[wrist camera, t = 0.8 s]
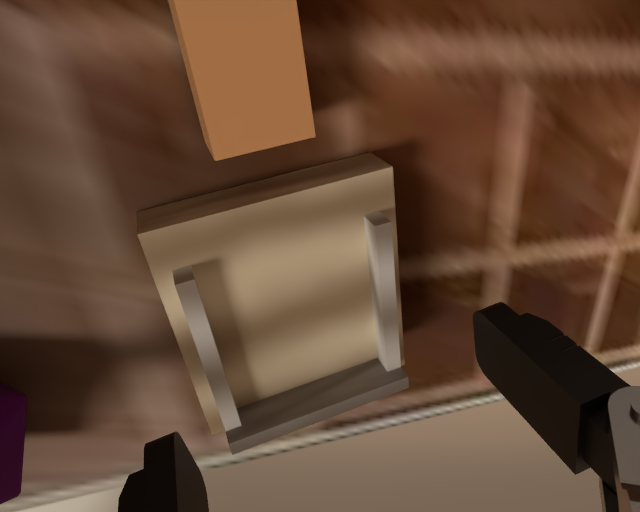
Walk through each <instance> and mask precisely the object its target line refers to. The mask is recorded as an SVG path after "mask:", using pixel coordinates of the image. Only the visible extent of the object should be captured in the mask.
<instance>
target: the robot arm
mask: <svg viewBox="0 0 640 512" xmlns="http://www.w3.org/2000/svg"><path fill="white" fill-rule="evenodd" d="M473 327H474V339H475V352H476V358H477V361H478V364H479V366H480V368H481V370H482V371H483V373H484V374H485V376H486V377H487V378H488V379H489V380H490V382H491V383H492V384H493V385H494V386H495V387H496V388H497V389H498V390H499V391H500V392H501V394H502V395H503V396H504V397H505V398H506V399H507V400H508V401H509V402H510V403H511V405H512V406H513V407H514V408H515V409H516V410H517V411H518V412H519V413H520V414H521V415H522V417H523V418H524V419H525V420H526V421H527V422H528V423H529V424H530V425H531V427H532V428H534V430H535V431H536V432H537V433H538V434H539V435H540V436H541V437H542V439H543V440H544V441H545V442H546V443H547V444H548V445H549V446H550V447H551V449H552V450H553V451H554V452H555V453H556V454H557V455H558V456H559V457H560V458H561V459H562V461H563V462H564V463H565V464H566V465H567V466H568V467H569V468H570V469H571V470H572V472H573V473H574V474H578V473H580V472H582V471H584V470H586V469H588V468H590V467H591V468H592V469H593V470H594V471H595V472H596V473H597V474H598V475H599V476H600V477H599V487H600V495H601V503H602V511H603V512H640V386H630V385H629V384H627V383H626V382H625V381H623V380H622V379H621V378H619V377H618V376H617V375H616V374H614V373H613V372H612V371H611V370H609V369H608V368H607V367H606V366H604V365H603V364H602V363H601V362H599V361H598V360H597V359H595V358H594V357H593V356H592V355H590V354H589V353H588V352H587V351H585V350H584V349H583V348H581V347H580V346H577V345H576V343H575V342H574V341H573V340H571V339H570V338H569V337H568V336H564V334H563V333H562V332H561V331H560V330H559V329H557V328H556V327H555V326H554V325H552V324H551V323H550V322H548V321H547V320H544V319H542V318H539V317H537V316H534V315H532V314H529V313H525V314H523V315H520V316H519V315H518V314H517V313H516V312H514V311H513V310H512V309H511V308H510V307H508V306H507V305H506V304H504V303H502V302H499V303H496V304H494V305H491V306H489V307H486V308H484V309H482V310H479V311H477V312H475V313H474V314H473ZM118 512H209V508H208V500H207V493H206V487H205V484H204V481H203V477H202V474H201V472H200V470H199V468H198V466H197V464H196V463H195V461H194V459H193V457H192V455H191V454H190V452H189V450H188V448H187V447H186V445H185V443H184V441H183V439H182V438H181V436H180V434H179V433H178V432H173V433H171V434H168V435H166V436H163V437H161V438H159V439H156V440H154V441H151V442H149V443H146V444H145V447H144V469H142V470H140V471H138V472H135V473H133V474H130V475H129V476H128V479H127V481H126V483H125V485H124V488H123V490H122V492H121V495H120V497H119V506H118Z"/></svg>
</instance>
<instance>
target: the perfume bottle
mask: <svg viewBox="0 0 640 512" xmlns="http://www.w3.org/2000/svg"><path fill="white" fill-rule="evenodd" d="M26 410H27V397H26V395H24V394H23V393H21V392H19V391H17V390H15V389H14V388H12V387H10V386H8V385H6V384H5V383H3V382H1V381H0V504H2V503H4V502H6V501H8V500H11V499H13V498H15V497H17V496H18V495H19V494H20V492H21V481H22V467H23V453H24V438H25V424H26Z"/></svg>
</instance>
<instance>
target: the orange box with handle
mask: <svg viewBox="0 0 640 512" xmlns="http://www.w3.org/2000/svg"><path fill="white" fill-rule="evenodd" d="M168 2H169V6H170V10H171V14H172V18H173V21H174V25H175V29H176V33H177V37H178V40H179V44H180V48H181V52H182V56H183V60H184V63H185V67H186V71H187V75H188V79H189V82H190V86H191V90H192V94H193V98H194V101H195V105H196V109H197V113H198V117H199V121H200V124H201V128H202V132H203V136H204V140H205V143H206V145H207V147H208V149H209V150H210V152H211V154H212V156H213V158H214V160H215V161H217V160H222V159H226V158H230V157H234V156H238V155H242V154H246V153H251V152H255V151H259V150H263V149H267V148H271V147H276V146H280V145H284V144H288V143H292V142H296V141H300V140H305V139H309V138H313V137H316V136H315V129H314V122H313V115H312V108H311V100H310V93H309V86H308V79H307V72H306V65H305V58H304V51H303V44H302V37H301V30H300V23H299V16H298V8H297V1H296V0H168Z"/></svg>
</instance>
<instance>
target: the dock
mask: <svg viewBox="0 0 640 512" xmlns="http://www.w3.org/2000/svg"><path fill="white" fill-rule="evenodd" d="M136 216H137V235H138V238H139V240H140V243H141V246H142V248H143V251H144V254H145V256H146V259H147V262H148V264H149V267H150V270H151V272H152V275H153V278H154V280H155V283H156V286H157V288H158V291H159V294H160V297H161V299H162V302H163V305H164V307H165V310H166V313H167V315H168V318H169V321H170V323H171V326H172V329H173V331H174V334H175V337H176V339H177V342H178V345H179V347H180V350H181V353H182V355H183V358H184V361H185V363H186V366H187V369H188V372H189V374H190V377H191V380H192V382H193V385H194V388H195V390H196V393H197V396H198V398H199V401H200V404H201V406H202V409H203V412H204V414H205V417H206V420H207V422H208V425H209V428H210V430H211V433H212V435H214V434H217V433H219V432H222V431H226V435H227V439H228V443H229V446H230V449H231V452H232V455H233V454H236V453H238V452H241V451H244V450H246V449H249V448H251V447H254V446H257V445H259V444H262V443H265V442H267V441H270V440H272V439H275V438H278V437H280V436H283V435H286V434H288V433H291V432H293V431H296V430H299V429H301V428H304V427H307V426H309V425H312V424H315V423H317V422H320V421H322V420H325V419H328V418H330V417H333V416H336V415H338V414H341V413H343V412H346V411H349V410H351V409H354V408H357V407H359V406H362V405H364V404H367V403H370V402H372V401H375V400H378V399H380V398H383V397H385V396H388V395H391V394H393V393H396V392H399V391H401V390H404V389H407V388H409V384H408V376H407V375H406V373H405V372H404V371H403V369H402V368H401V365H404V364H405V363H404V346H403V329H402V312H401V296H400V279H399V262H398V245H397V229H396V212H395V195H394V179H393V166H391V165H389V164H388V163H386V162H385V161H383V160H382V159H380V158H379V157H377V156H376V155H374V154H372V153H371V152H369V153H365V154H361V155H357V156H353V157H349V158H345V159H341V160H337V161H334V162H330V163H326V164H322V165H318V166H314V167H310V168H306V169H302V170H298V171H294V172H290V173H287V174H283V175H279V176H275V177H271V178H267V179H263V180H259V181H255V182H251V183H247V184H243V185H240V186H236V187H232V188H228V189H224V190H220V191H216V192H212V193H208V194H204V195H200V196H196V197H192V198H189V199H185V200H181V201H177V202H173V203H169V204H165V205H161V206H157V207H153V208H149V209H145V210H142V211H138V212H136Z"/></svg>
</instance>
